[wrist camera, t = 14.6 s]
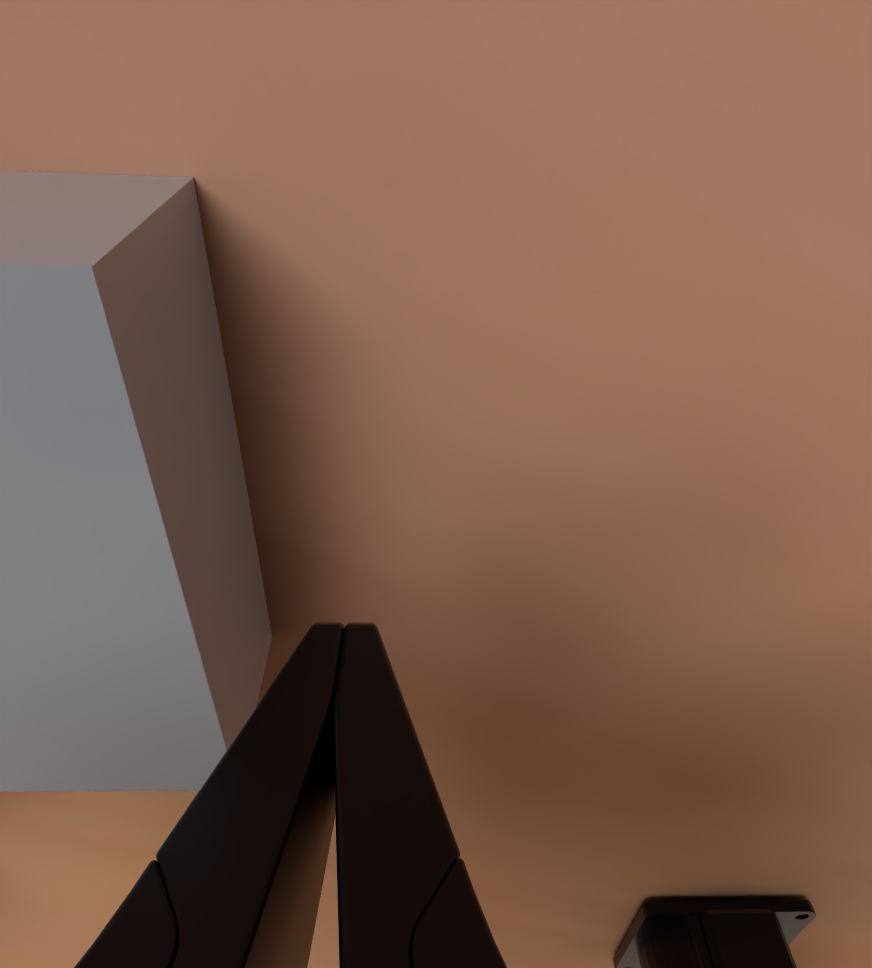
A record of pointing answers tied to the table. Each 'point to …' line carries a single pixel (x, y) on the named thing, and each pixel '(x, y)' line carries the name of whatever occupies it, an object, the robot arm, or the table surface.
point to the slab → (118, 494)
